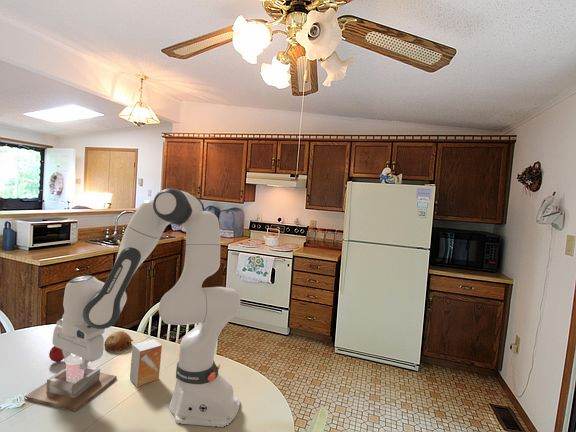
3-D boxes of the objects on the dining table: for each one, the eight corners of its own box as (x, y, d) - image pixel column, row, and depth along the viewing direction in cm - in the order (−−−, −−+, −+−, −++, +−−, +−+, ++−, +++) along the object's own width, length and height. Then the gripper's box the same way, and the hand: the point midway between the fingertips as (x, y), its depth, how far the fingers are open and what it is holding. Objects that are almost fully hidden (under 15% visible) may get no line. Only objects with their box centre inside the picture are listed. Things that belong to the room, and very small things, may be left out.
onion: (57, 367, 117) (58, 346, 117) (44, 364, 118) (45, 343, 118) (71, 360, 123) (72, 339, 123) (58, 356, 124) (59, 336, 124)
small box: (136, 387, 111) (139, 351, 110) (129, 379, 115) (132, 344, 114) (159, 379, 117) (162, 344, 116) (151, 371, 121) (154, 338, 120)
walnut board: (116, 378, 115) (117, 365, 114) (75, 411, 97) (76, 395, 97) (72, 369, 118) (73, 355, 117) (24, 399, 100) (25, 383, 99)
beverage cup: (76, 390, 104) (79, 348, 103) (58, 387, 104) (61, 346, 103) (89, 379, 110) (92, 340, 109) (72, 377, 111) (75, 337, 110)
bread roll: (119, 347, 142) (113, 330, 142) (139, 341, 141) (133, 324, 141) (103, 358, 133) (96, 340, 133) (124, 352, 131) (118, 333, 131)
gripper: (47, 320, 107) (45, 360, 108) (90, 336, 99) (87, 379, 100) (67, 314, 113) (64, 352, 114) (108, 329, 105) (105, 370, 106)
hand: (75, 365), depth 107 cm, fingers closed on beverage cup, 6 cm apart
